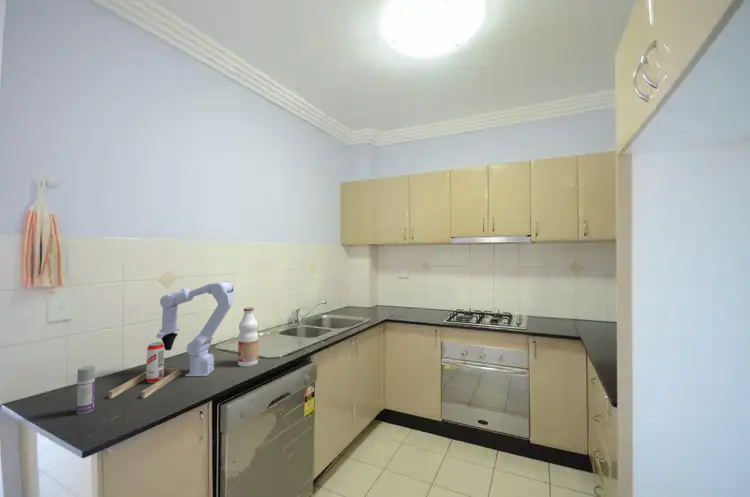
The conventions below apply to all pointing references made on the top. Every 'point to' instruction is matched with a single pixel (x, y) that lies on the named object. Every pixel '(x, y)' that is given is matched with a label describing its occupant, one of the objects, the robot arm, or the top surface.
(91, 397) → the container
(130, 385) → the u rest
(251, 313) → the fruit juice
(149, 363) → the beer can
